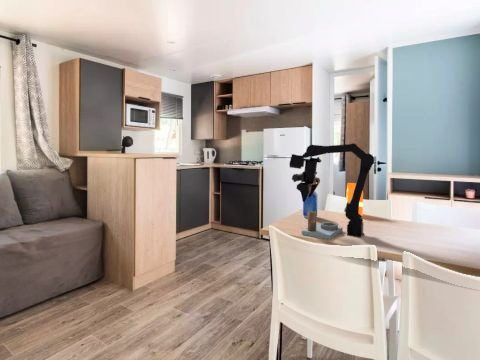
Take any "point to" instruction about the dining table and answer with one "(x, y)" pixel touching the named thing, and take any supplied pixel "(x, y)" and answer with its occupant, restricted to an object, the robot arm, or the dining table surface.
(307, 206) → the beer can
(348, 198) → the orange juice
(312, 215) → the walnut peg
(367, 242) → the dining table surface
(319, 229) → the slate board
